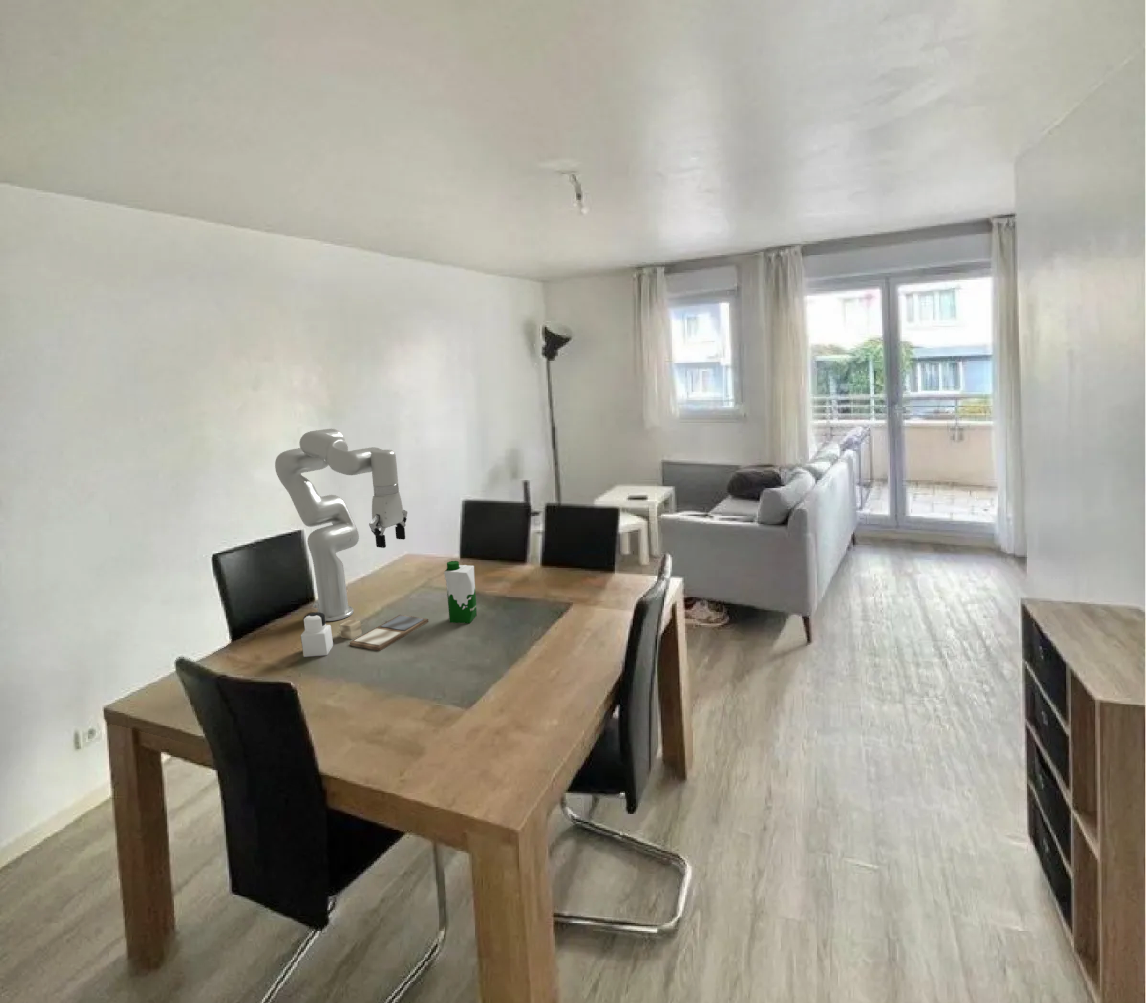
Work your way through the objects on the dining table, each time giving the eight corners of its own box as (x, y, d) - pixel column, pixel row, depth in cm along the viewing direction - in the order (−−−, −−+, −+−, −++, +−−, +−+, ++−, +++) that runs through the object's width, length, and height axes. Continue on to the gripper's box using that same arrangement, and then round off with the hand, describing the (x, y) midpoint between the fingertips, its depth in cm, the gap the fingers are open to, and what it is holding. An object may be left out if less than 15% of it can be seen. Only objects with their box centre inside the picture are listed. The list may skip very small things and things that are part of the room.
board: (349, 645, 206) (349, 641, 206) (400, 617, 227) (399, 613, 227) (380, 650, 201) (379, 646, 201) (428, 621, 222) (428, 618, 222)
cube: (341, 637, 212) (339, 624, 211) (351, 632, 216) (349, 619, 215) (351, 639, 210) (350, 626, 209) (361, 634, 214) (360, 621, 213)
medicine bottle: (310, 647, 205) (305, 611, 203) (333, 645, 206) (329, 609, 203) (303, 657, 198) (297, 620, 196) (327, 655, 199) (322, 618, 197)
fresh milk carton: (455, 613, 228) (450, 558, 224) (480, 614, 226) (476, 559, 222) (446, 623, 220) (441, 566, 216) (471, 624, 218) (467, 567, 214)
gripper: (394, 484, 213) (398, 535, 217) (357, 494, 198) (363, 549, 202) (413, 485, 211) (417, 536, 214) (377, 496, 195) (383, 551, 199)
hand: (391, 543), depth 208 cm, fingers open, 9 cm apart
